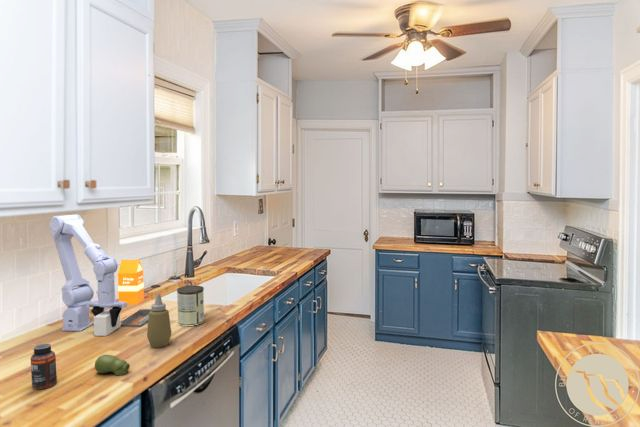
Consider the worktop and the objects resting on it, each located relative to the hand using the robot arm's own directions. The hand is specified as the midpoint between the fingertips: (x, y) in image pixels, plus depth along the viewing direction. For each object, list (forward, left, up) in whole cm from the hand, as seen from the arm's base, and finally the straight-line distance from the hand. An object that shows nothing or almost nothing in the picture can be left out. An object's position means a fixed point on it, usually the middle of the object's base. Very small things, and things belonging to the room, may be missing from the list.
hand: (107, 326), depth 166 cm
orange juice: (+40, +10, -2) cm, 41 cm away
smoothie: (+24, +14, -2) cm, 28 cm away
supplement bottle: (-43, -5, -2) cm, 43 cm away
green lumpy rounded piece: (-34, -20, -2) cm, 40 cm away
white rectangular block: (0, 0, -2) cm, 2 cm away
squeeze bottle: (-12, -25, -2) cm, 28 cm away
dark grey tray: (+14, -6, -2) cm, 15 cm away
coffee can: (+12, -28, -2) cm, 31 cm away
